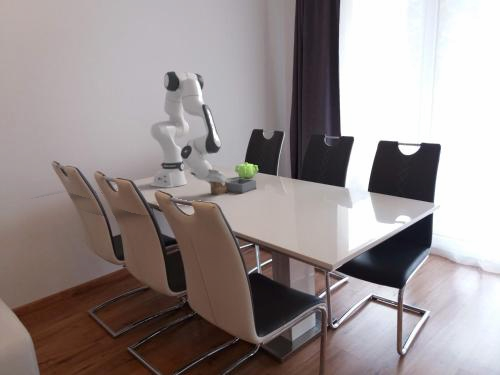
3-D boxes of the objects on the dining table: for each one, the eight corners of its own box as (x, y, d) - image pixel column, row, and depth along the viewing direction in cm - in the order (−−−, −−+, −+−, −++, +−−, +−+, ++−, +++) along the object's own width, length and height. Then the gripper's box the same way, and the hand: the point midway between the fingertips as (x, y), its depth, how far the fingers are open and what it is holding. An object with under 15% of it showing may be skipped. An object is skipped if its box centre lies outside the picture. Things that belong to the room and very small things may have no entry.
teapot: (259, 177, 260) (258, 162, 257) (244, 180, 254) (243, 165, 252) (249, 175, 269) (249, 160, 267) (234, 177, 264) (233, 162, 261)
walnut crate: (211, 193, 226) (210, 179, 224) (218, 191, 230) (217, 177, 228) (219, 195, 222) (218, 180, 220) (226, 192, 226) (225, 178, 224)
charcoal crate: (226, 190, 230) (225, 182, 229) (239, 186, 239) (239, 178, 238) (242, 193, 223) (242, 184, 222) (256, 188, 232) (255, 180, 231)
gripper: (220, 165, 209) (234, 180, 219) (192, 162, 222) (206, 177, 231) (215, 176, 207) (229, 190, 216) (187, 172, 219) (201, 186, 229)
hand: (217, 183), depth 224 cm, fingers open, 8 cm apart
